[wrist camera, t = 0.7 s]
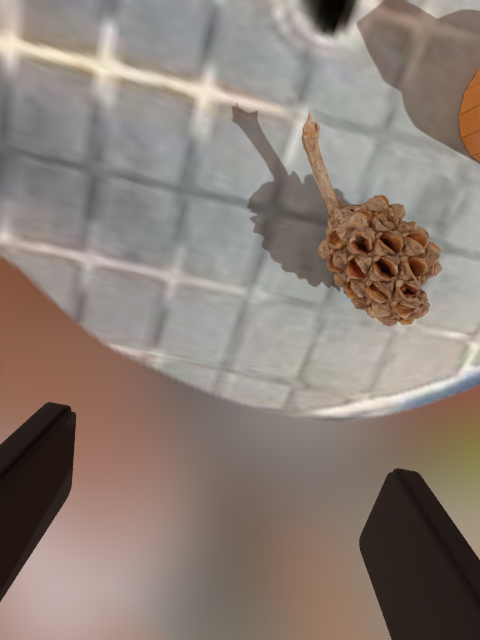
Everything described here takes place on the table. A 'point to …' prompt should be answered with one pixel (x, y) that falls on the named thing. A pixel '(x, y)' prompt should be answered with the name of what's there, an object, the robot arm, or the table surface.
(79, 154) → the table surface
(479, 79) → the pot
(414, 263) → the pine cone
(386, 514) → the robot arm
